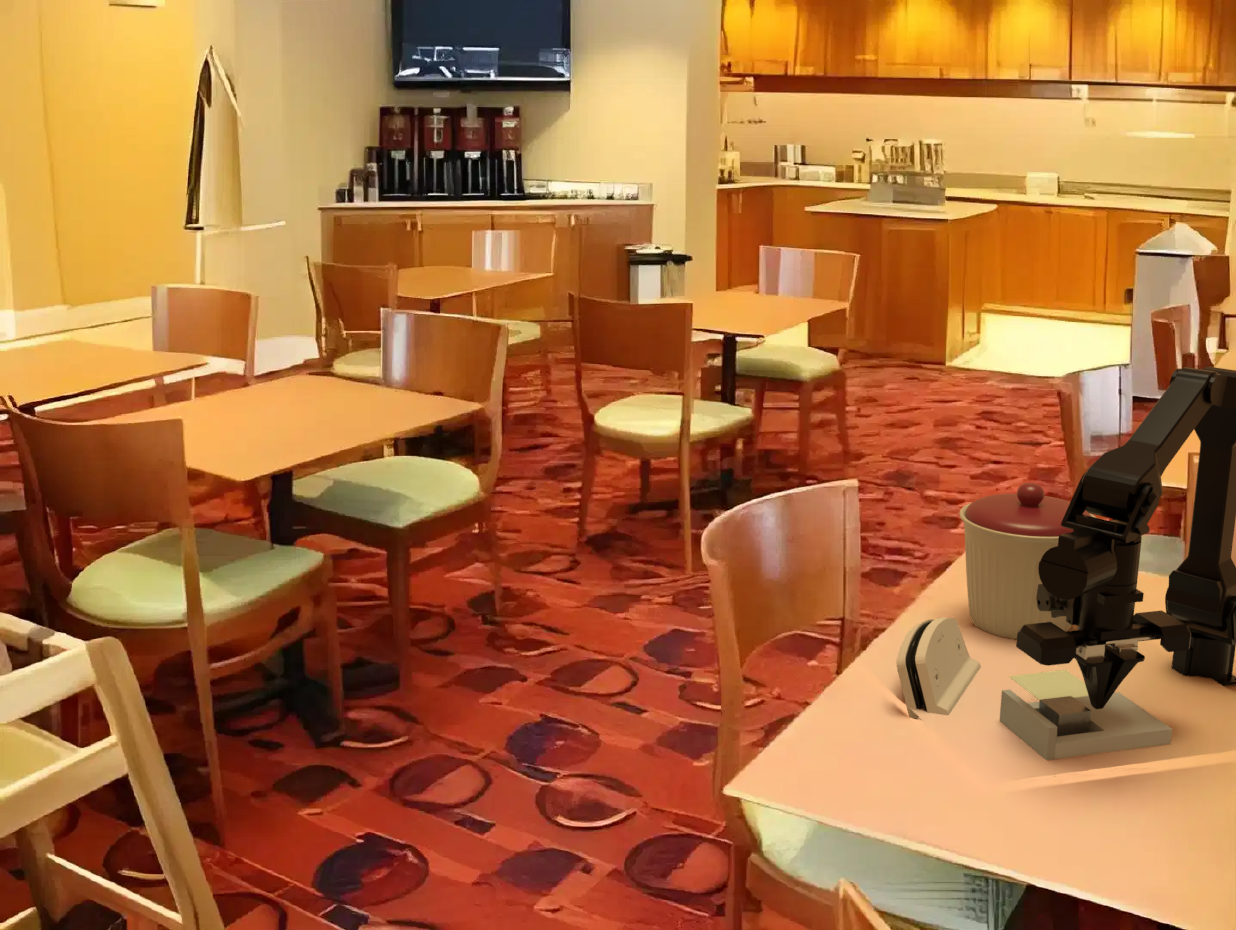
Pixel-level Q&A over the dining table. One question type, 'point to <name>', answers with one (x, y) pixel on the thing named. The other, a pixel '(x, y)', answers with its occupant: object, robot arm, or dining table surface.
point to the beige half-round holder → (934, 666)
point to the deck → (1107, 733)
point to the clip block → (1066, 715)
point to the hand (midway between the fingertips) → (1096, 707)
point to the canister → (1010, 557)
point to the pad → (1052, 684)
